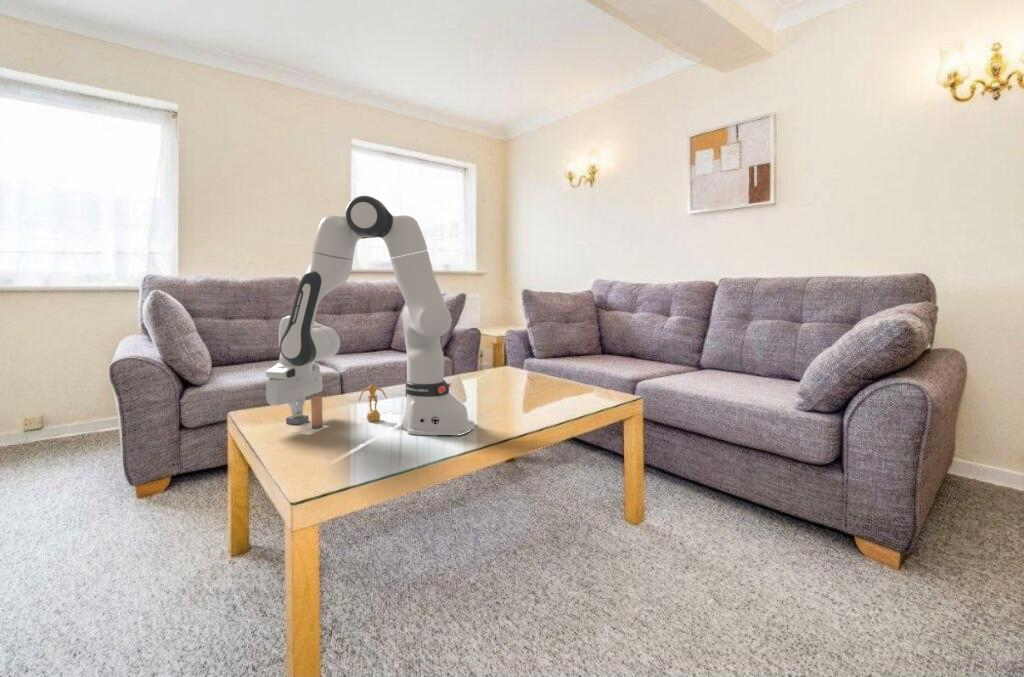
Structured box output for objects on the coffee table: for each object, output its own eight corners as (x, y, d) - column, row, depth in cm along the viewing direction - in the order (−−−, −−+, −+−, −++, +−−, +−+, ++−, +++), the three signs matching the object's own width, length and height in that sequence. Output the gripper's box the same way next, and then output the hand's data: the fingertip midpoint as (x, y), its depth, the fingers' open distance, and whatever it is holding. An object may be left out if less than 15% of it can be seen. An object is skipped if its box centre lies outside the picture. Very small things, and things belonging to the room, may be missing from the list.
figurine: (360, 425, 142) (359, 387, 141) (358, 420, 148) (358, 383, 146) (388, 423, 145) (387, 385, 144) (385, 418, 151) (385, 381, 149)
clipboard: (335, 426, 141) (335, 418, 141) (308, 438, 129) (308, 430, 129) (296, 421, 145) (296, 414, 144) (267, 433, 133) (266, 425, 133)
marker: (324, 426, 138) (324, 397, 137) (318, 429, 135) (317, 399, 134) (316, 425, 139) (315, 396, 138) (309, 428, 136) (308, 398, 135)
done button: (305, 419, 143) (305, 411, 143) (298, 422, 140) (298, 414, 140) (296, 418, 144) (296, 410, 143) (289, 421, 141) (289, 413, 140)
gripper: (310, 361, 151) (311, 403, 152) (261, 373, 131) (263, 420, 133) (327, 363, 149) (328, 405, 151) (279, 374, 129) (281, 422, 131)
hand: (297, 412), depth 141 cm, fingers closed, pressing on done button
